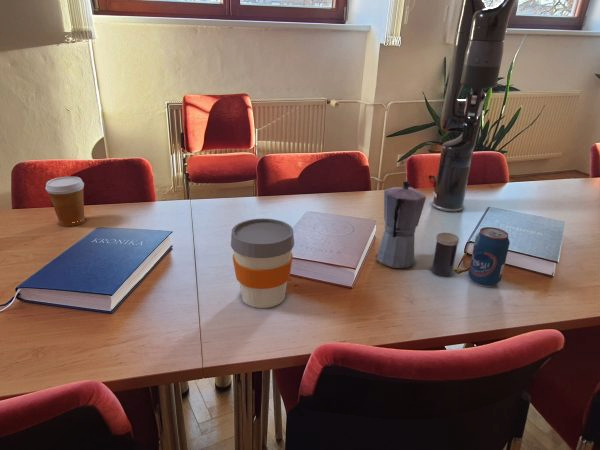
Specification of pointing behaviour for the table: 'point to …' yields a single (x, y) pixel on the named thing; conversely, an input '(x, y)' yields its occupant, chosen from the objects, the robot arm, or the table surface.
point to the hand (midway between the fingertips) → (468, 137)
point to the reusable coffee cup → (262, 260)
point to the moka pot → (400, 225)
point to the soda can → (489, 256)
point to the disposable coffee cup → (67, 199)
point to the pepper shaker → (445, 254)
